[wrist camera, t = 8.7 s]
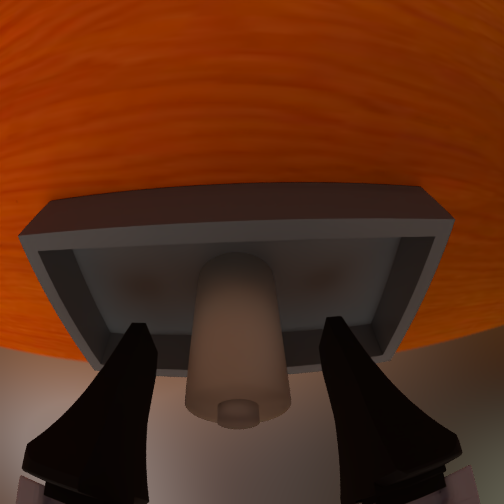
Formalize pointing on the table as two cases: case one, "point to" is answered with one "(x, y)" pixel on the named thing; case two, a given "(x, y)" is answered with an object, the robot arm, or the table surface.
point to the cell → (237, 345)
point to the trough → (245, 241)
